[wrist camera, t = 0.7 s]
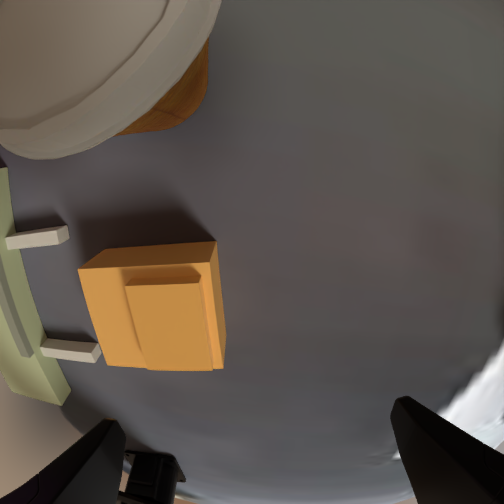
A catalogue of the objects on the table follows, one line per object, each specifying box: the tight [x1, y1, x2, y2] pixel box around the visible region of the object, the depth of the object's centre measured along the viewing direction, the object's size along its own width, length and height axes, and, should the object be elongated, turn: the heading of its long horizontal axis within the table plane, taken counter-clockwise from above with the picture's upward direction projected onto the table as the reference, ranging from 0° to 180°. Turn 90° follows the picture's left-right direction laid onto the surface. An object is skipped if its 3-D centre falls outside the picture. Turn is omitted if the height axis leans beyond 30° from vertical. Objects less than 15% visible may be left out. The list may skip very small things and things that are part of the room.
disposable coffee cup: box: [0, 0, 222, 160], centre depth 10 cm, size 10×10×12 cm
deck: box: [0, 167, 102, 406], centre depth 18 cm, size 22×14×3 cm, turn 3°
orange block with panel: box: [78, 241, 226, 371], centre depth 17 cm, size 7×8×5 cm
